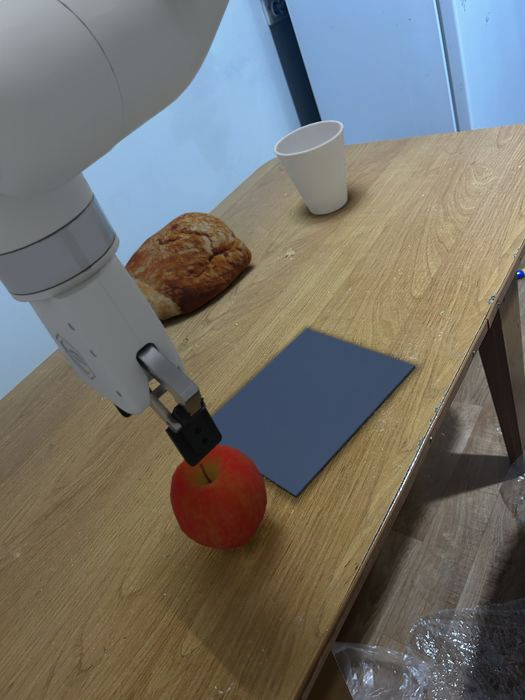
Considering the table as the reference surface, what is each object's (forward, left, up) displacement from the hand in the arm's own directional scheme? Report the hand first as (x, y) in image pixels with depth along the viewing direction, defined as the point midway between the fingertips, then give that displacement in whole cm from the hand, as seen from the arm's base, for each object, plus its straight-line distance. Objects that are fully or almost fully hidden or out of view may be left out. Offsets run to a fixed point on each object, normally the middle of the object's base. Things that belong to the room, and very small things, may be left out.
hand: (170, 427), depth 46 cm
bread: (+45, -26, -16) cm, 54 cm away
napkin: (+7, -16, -16) cm, 23 cm away
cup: (+36, -54, -16) cm, 67 cm away
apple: (0, 0, -16) cm, 16 cm away
